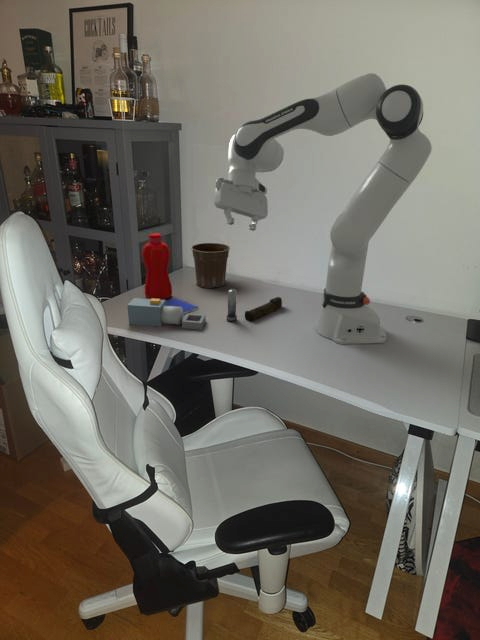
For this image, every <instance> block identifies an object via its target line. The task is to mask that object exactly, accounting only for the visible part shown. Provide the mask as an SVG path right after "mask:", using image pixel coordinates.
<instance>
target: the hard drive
mask: <svg viewBox="0 0 480 640" xmlns="http://www.w3.org/2000/svg"><path fill="white" fill-rule="evenodd" d="M165 301H166V306H176V307H182V309H183V316H184V315H186V314H190V313H191V312H194V311H197V310H198V309H199V306H197V305H194V304H192V303H189V302H186V301H184V300H181V299H178V298H175V297H174V298H171V299H168V300H165Z"/></svg>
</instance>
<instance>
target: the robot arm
mask: <svg viewBox="0 0 480 640" xmlns="http://www.w3.org/2000/svg"><path fill="white" fill-rule="evenodd" d="M423 117H424V103H423V99H422V97H421V95H420V94H419V92H418V91H417V90H416V88H414V87H412V86H411V85H408V84H396V85H393V86H391V87H389V88H388V89H387V87H386V85H385V83H384V81H383V80H382V78H381V77H380V76H379V75H377V74H376V73H372V72H371V73H370V72H369V73H366V74H363V75H361V76H358V77H356V78H353V79H351V80H349V81H347V82H345V83H343V84H341V85H340V86H338V87H337V88H335V89H333V90H331V91H329V92H327V93H324V94H322V95H320V96H316V97H313V98H305V99H302V100H299V101H297V102H294V103H292V104H290V105H288V106H286V107H283V108H282V109H279V110H278V111H275V112H273V113H271V114H269V115H267V116H265V117H262V118H259V119H255V120H249V121H246V122H245V123H243V124H242V125H241V126H239V127H238V128H237V130H236V131H235V133H234V135H232V137H231V138H230V141H229V144H228V152H227V153H228V154H227V163H228V168H229V169H228V170H229V171H228V174H227V179H226V178H224V177H220V178H217V179H216V180H215V191H214V198H213V199H214V200H213V204H214V206H215V208H217V209H221V210H223V213H224V215H225V216H224V217H225V218H226V224H227V225H230V226H232V225H234V224H235V218H234V217H233V216H232V214H231V213H235V214H237V215H241V216H245V217H248V218H251V221H252V222H251V224H249V225H248V226H249V228H248V229H249V230H250V231H253V232H254V231H256V229H257V224H258V222H259V221H261V220H263V219H266V218H267V217H268V213H269V212H268V211H269V205H268V202H269V201H268V198H267V196H266V195H267V194H268V188H267V187H266V186H265V185H263V183H261V182H260V180H259V179H258V178H256V174H257V173H268V172H273V171H275V170H276V169H277V168H279V166H280V165H281V163H282V162H283V160H284V154H285V153H284V148H283V146H282V145H281V144H280V143H279V142H278V140H276V139H277V138H279V137H281V136H283V135H285V134H287V133H289V132H292V131H295V130H302V129H303V130H309V131H313V132H316V133H317V134H320V135H323V136H326V137H332V136H336V135H340V134H341V133H344V132H346V131H348V130H350V129H351V128H353V127H355V126H357V125H359V124H362V123H363V122H365V121H367V120H376V121H377V123H378V125H379V126H380V129H382V130H383V132H384V133H385V134H386V135H387V137H388V138H389V143H388V146H387V147H386V149H385V150H384V152H383V154H382V155H381V156H380V158H379V159H378V161H377V162H376V163H375V165H373V168H372V169H371V170H370V172H369V173H368V174H367V176H366V178H364V180H363V181H362V183H361V184H360V186H359V187H358V189H357V190H356V192H355V193H354V194H353V196H352V197H351V199H350V201H349V202H348V203H347V204H346V206H345V208H344V209H343V211H342V212H341V213H340V214H339V215H338V216H337V218H336V219H335V221H334V223H333V225H332V226H331V230H330V234H329V235H330V236H329V237H330V241H331V246H330V247H331V249H330V255H329V261H328V264H327V273H326V284H325V288H324V289H323V293H322V302H321V305H322V309H321V313H320V317H319V319H318V322H317V323H316V327H315V331H316V332H317V333H318V334H319V335H320V336H322V337H324V338H327V339H330V340H332V341H333V342H335V343H336V344H340V345H343V344H344V345H346V344H347V345H348V344H349V345H350V344H351V345H353V344H355V345H356V344H358V345H359V344H360V345H361V344H384V343H385V342H386V341H387V332H386V331H385V329H384V328H383V326H381V320H380V317H379V315H378V314H377V312H376V311H375V310H374V309H372V307H370V306H369V305H370V303H371V300H370V298H369V297H368V296H367V294H365V292H364V291H362V288H363V282H364V274H365V269H366V261H367V255H368V250H369V243H370V241H371V239H372V238H373V236H374V234H376V232H377V231H378V229H379V228H380V227H381V225H382V224H383V222H384V221H385V220H386V218H387V217H388V215H389V213H390V212H391V211H392V209H393V208H394V207H395V206H396V204H397V203H398V201H399V200H401V198H402V197H403V196H404V194H405V192H406V191H407V189H409V187H410V186H411V185H412V184H413V182H414V181H415V179H416V178H417V176H418V175H420V172H421V171H422V169H423V168H424V166H425V164H426V162H427V161H428V158H429V156H430V155H431V154H432V153H431V152H432V150H433V149H432V148H433V147H432V142H431V141H430V139H429V138H428V136H427V135H425V134H424V133H422V131H420V128H419V127H420V125H421V123H422V121H423Z"/></svg>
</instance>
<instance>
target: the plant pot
mask: <svg viewBox="0 0 480 640" xmlns="http://www.w3.org/2000/svg"><path fill="white" fill-rule="evenodd" d="M190 249H191V252H192V258H193V260H194V261H193V262H194V270H195V272H194V273H195V279H196V284H197V286H199V287H201V288H205V289H206V288H207V289H213V288H220V287H223V286H224V285H225V284H226V277H227V276H226V275H227V265H228V258H229V252H230V250H231V247H230V245H228V244H225V243H217V242H202V243H196V244H193V245H191V246H190Z"/></svg>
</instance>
